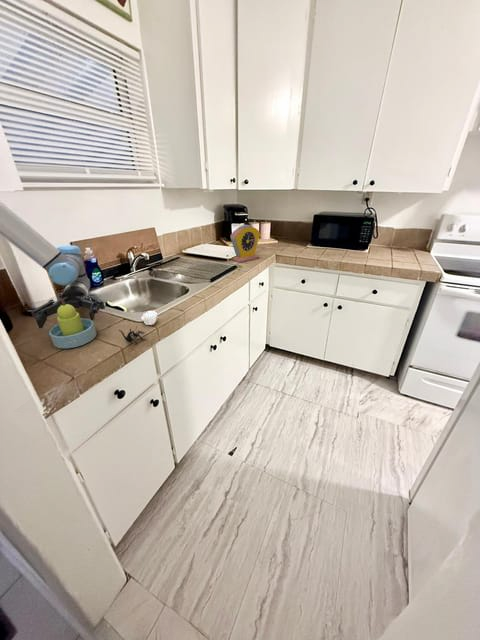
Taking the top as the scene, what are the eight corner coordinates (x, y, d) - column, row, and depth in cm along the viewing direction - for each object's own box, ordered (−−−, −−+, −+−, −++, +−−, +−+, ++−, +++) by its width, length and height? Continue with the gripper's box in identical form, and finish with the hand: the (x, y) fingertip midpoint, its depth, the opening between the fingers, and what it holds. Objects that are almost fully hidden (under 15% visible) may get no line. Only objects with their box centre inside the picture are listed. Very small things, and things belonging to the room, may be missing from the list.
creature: (136, 335, 89) (116, 341, 82) (136, 320, 87) (116, 325, 80) (154, 341, 86) (134, 348, 79) (154, 325, 84) (134, 331, 77)
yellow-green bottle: (60, 342, 82) (45, 304, 76) (73, 332, 87) (60, 296, 81) (78, 343, 81) (64, 305, 75) (90, 333, 87) (78, 297, 80)
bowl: (44, 348, 80) (39, 335, 78) (71, 328, 91) (67, 317, 88) (80, 351, 79) (76, 338, 76) (104, 331, 89) (101, 319, 87)
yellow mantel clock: (237, 263, 163) (237, 227, 153) (228, 260, 169) (227, 225, 159) (262, 257, 176) (263, 224, 166) (252, 255, 182) (253, 222, 172)
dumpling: (162, 321, 96) (160, 313, 93) (151, 329, 92) (149, 321, 90) (148, 314, 98) (146, 306, 95) (138, 322, 95) (135, 313, 92)
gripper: (114, 299, 101) (113, 323, 84) (38, 310, 93) (20, 339, 75) (110, 281, 98) (108, 302, 80) (30, 290, 89) (9, 316, 72)
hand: (65, 320), depth 78 cm, fingers open, 13 cm apart
